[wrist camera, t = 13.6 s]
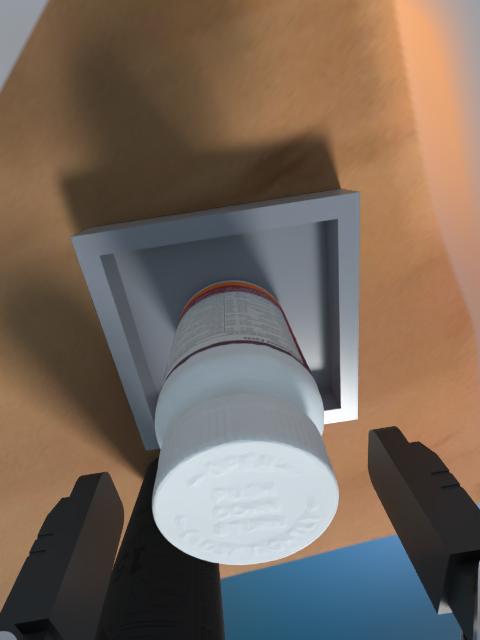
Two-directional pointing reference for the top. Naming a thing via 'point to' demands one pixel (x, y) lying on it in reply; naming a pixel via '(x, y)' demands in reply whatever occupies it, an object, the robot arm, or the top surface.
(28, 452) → the top surface
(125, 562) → the drinking cup
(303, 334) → the tray
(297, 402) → the pill bottle
